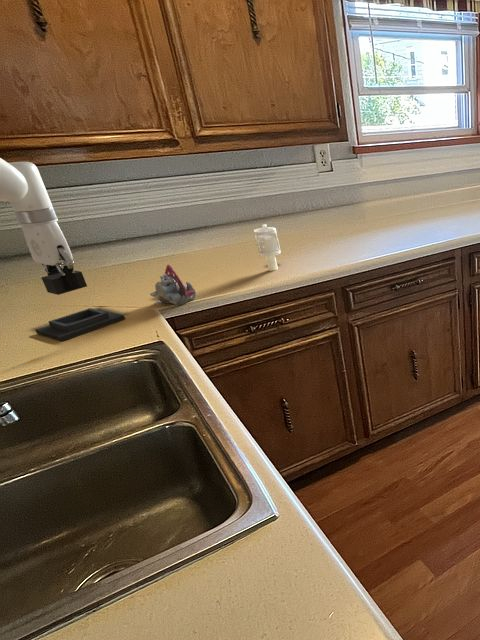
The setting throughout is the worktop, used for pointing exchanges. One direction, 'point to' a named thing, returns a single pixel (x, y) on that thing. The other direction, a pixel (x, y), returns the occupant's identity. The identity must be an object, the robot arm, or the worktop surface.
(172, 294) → the grey creature figurine
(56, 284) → the top pad
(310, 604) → the worktop surface
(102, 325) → the base pad
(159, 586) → the worktop surface
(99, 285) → the worktop surface
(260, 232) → the white tall piece
